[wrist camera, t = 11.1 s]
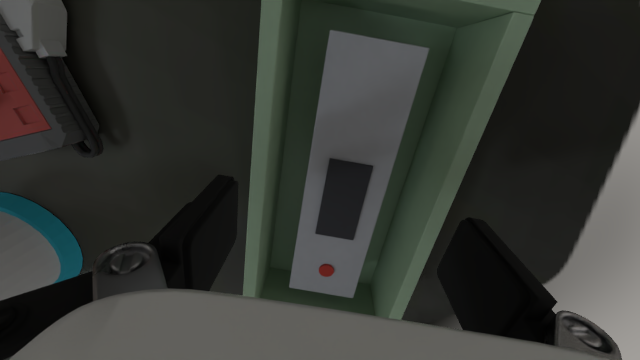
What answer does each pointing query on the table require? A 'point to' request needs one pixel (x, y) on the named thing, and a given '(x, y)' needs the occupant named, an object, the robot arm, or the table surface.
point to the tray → (415, 148)
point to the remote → (352, 156)
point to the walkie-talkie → (40, 84)
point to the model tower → (33, 247)
